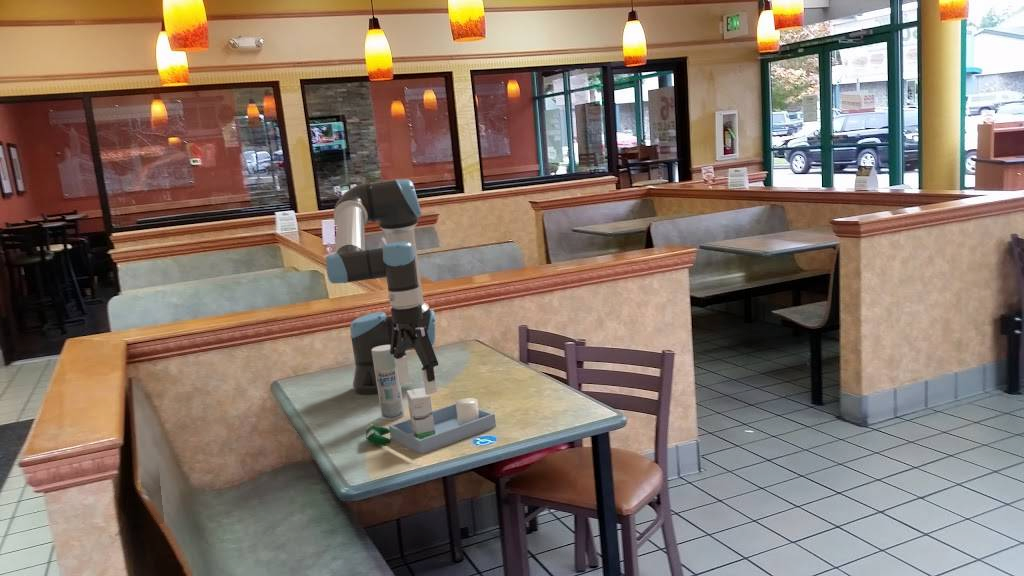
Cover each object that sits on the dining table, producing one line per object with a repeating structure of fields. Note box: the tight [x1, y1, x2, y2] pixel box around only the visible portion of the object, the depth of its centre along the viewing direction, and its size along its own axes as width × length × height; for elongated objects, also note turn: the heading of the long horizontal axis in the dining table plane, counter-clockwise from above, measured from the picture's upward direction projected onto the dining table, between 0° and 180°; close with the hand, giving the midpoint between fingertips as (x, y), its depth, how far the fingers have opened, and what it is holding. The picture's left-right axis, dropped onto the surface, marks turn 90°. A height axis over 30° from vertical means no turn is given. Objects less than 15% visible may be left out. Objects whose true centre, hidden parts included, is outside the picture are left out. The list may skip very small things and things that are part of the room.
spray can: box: [371, 345, 405, 422], centre depth 211 cm, size 6×6×20 cm
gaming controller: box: [365, 423, 391, 447], centre depth 195 cm, size 9×4×6 cm
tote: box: [388, 402, 497, 455], centre depth 194 cm, size 16×22×4 cm
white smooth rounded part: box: [455, 397, 479, 426], centre depth 195 cm, size 6×6×7 cm
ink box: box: [406, 387, 435, 439], centre depth 192 cm, size 9×5×12 cm, turn 17°
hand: (417, 387), depth 191 cm, fingers open, 13 cm apart
